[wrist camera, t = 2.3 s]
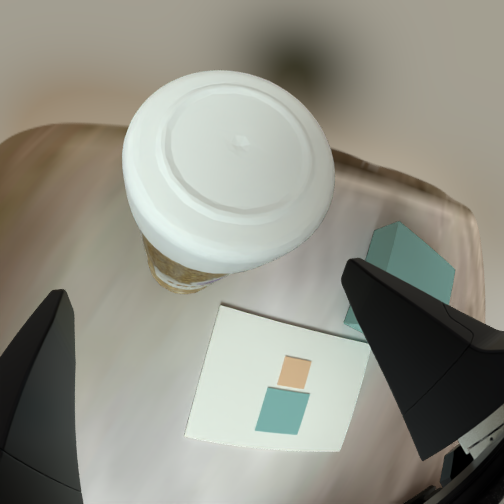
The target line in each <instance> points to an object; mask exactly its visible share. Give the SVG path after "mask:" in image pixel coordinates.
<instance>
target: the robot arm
mask: <svg viewBox="0 0 504 504" xmlns="http://www.w3.org/2000/svg"><path fill="white" fill-rule="evenodd" d="M341 282H342V286H343V288H344V290H345V293H346V295H347V298H348V300H349V303H350V305H351V308H352V310H353V313H354V315H355V317H356V320H357V322H358V324H359V326H360V328H361V330H362V332H363V334H364V336H365V338H366V340H367V342H368V344H369V346H370V348H371V350H372V352H373V354H374V356H375V358H376V360H377V362H378V364H379V366H380V368H381V370H382V372H383V374H384V376H385V378H386V381H387V383H388V385H389V387H390V389H391V391H392V393H393V396H394V398H395V400H396V402H397V404H398V407H399V409H400V411H401V413H402V415H403V418H404V420H405V423H406V425H407V427H408V430H409V432H410V434H411V437H412V439H413V441H414V444H415V446H416V449H417V451H418V454H419V456H420V458H421V460H422V461H424V460H426V459H428V458H429V457H431V456H433V455H434V454H436V453H438V452H439V451H441V450H442V449H444V448H446V447H447V446H449V445H450V444H452V443H453V442H455V441H456V440H458V442H459V444H458V445H457V446H456V447H455V448H454V449H452V450H451V451H450V452H449V453H448V454H446V455H445V457H444V463H443V468H442V473H441V478H440V483H441V485H442V487H443V489H441V490H440V491H439V492H438V493H437V494H435V495H434V496H433V497H431V498H430V499H429V500H428V501H426V502H425V503H424V504H504V331H499V330H496V329H494V328H492V327H490V326H488V325H486V324H484V323H482V322H480V321H478V320H476V319H474V318H472V317H470V316H468V315H466V314H464V313H462V312H460V311H458V310H456V309H455V308H453V307H451V306H449V305H447V304H446V303H444V302H441V301H440V300H438V299H436V298H435V297H433V296H431V295H429V294H427V293H426V292H424V291H422V290H420V289H418V288H416V287H414V286H413V285H411V284H409V283H407V282H405V281H403V280H401V279H400V278H398V277H396V276H394V275H392V274H390V273H388V272H386V271H384V270H382V269H380V268H379V267H377V266H375V265H373V264H371V263H369V262H367V261H365V260H363V259H361V258H352V259H349V260H348V261H347V263H346V266H345V269H344V271H343V274H342V277H341ZM75 365H76V361H75V330H74V311H73V308H72V305H71V302H70V300H69V297H68V294H67V292H66V291H65V290H64V289H58V290H52V291H51V292H50V293H49V294H48V296H47V297H46V298H45V299H44V300H43V302H42V303H41V304H40V305H39V306H38V308H37V309H36V310H35V311H34V313H33V314H32V315H31V316H30V318H29V319H28V320H27V321H26V323H25V324H24V325H23V327H22V328H21V329H20V330H19V332H18V333H17V334H16V336H15V337H14V338H13V340H12V341H11V343H10V344H9V345H8V347H7V348H6V350H5V351H4V352H3V354H2V355H1V357H0V504H83V498H82V493H81V486H80V478H79V470H78V460H77V449H76V433H75Z"/></svg>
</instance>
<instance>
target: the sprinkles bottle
mask: <svg viewBox="0 0 504 504" xmlns="http://www.w3.org/2000/svg"><path fill="white" fill-rule="evenodd" d="M122 168H123V176H124V182H125V188H126V193H127V198H128V202H129V205H130V209H131V212H132V214H133V217H134V219H135V221H136V223H137V225H138V227H139V228H140V234H141V239H142V242H143V246H144V249H145V252H146V255H147V258H148V264H149V268H150V271H151V273H152V275H153V277H154V278H155V279H156V281H157V282H158V283H159V284H160V285H161V286H163V287H165V288H166V289H168V290H169V291H171V292H174V293H181V294H189V293H195V292H198V291H200V290H202V289H204V288H205V287H207V286H208V285H210V284H212V283H214V282H215V281H217V280H219V279H221V278H223V277H225V276H227V275H229V274H231V273H238V272H243V271H247V270H250V269H254V268H256V267H259V266H261V265H264V264H266V263H269V262H271V261H273V260H275V259H277V258H279V257H281V256H283V255H285V254H287V253H289V252H290V251H292V250H294V249H295V248H297V247H298V246H300V245H301V244H302V243H303V242H305V241H306V240H307V239H308V238H309V237H310V236H311V235H312V234H313V233H314V232H315V230H316V229H317V228H318V227H319V225H320V224H321V222H322V221H323V219H324V217H325V215H326V213H327V211H328V209H329V207H330V204H331V201H332V197H333V192H334V185H335V168H334V161H333V156H332V152H331V148H330V145H329V143H328V140H327V138H326V136H325V134H324V132H323V130H322V128H321V126H320V124H319V123H318V121H317V120H316V119H315V117H314V116H313V115H312V114H311V113H310V111H309V110H308V109H307V108H306V107H305V106H304V105H303V104H302V103H301V102H300V101H299V100H297V98H295V97H294V96H293V95H291V94H290V93H289V92H287V91H286V90H284V89H283V88H281V87H279V86H278V85H276V84H274V83H272V82H270V81H268V80H265V79H263V78H260V77H257V76H254V75H251V74H247V73H242V72H236V71H225V70H212V71H203V72H197V73H193V74H189V75H185V76H183V77H180V78H178V79H176V80H173V81H171V82H169V83H168V84H166V85H164V86H163V87H161V88H159V89H158V90H157V91H156V92H154V93H153V94H152V95H151V96H150V97H149V98H148V99H147V100H146V101H145V102H144V103H143V104H142V105H141V107H140V108H139V109H138V111H137V112H136V114H135V115H134V117H133V119H132V121H131V122H130V125H129V128H128V131H127V133H126V136H125V139H124V145H123V151H122Z"/></svg>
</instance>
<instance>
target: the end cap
mask: <svg viewBox="0 0 504 504" xmlns="http://www.w3.org/2000/svg"><path fill="white" fill-rule="evenodd" d="M435 489H436V487H435V486H433V485H431V486H430V487H428V488H427V489H425V490H424V491H422V492H421V493H419V494H418V495H416V496H415V497H413V498H412V499H410V500H408V501H407V502H405V503H404V504H424V503H425V502H426V501H428V500H429V499H430V498H431V497H433V496H434V495H435V494H437V493H438V492H439V491H440V490H441V489H443V488H438V489H436V490H435Z"/></svg>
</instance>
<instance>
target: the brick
mask: <svg viewBox="0 0 504 504" xmlns="http://www.w3.org/2000/svg"><path fill="white" fill-rule="evenodd" d="M365 261H367V262H369V263H371V264H373V265H375V266H377V267H379V268H380V269H382V270H384V271H386V272H388V273H390V274H392V275H394V276H396V277H398V278H400V279H401V280H403V281H405V282H407V283H409V284H411V285H413V286H414V287H416V288H418V289H420V290H422V291H424V292H426V293H427V294H429V295H431V296H433V297H435V298H436V299H438V300H440V301H441V302H444V303H446V304H447V305H449V300H450V296H451V291H452V286H453V280H454V275H455V269H454V268H453V267H452V266H451V265H450V264H449V263H448V262H446V261H445V260H444V259H443V258H442V257H441V256H440V255H439V254H438V253H436V252H435V251H434V250H433V249H432V248H431V247H430V246H428V245H427V244H426V243H425V242H424V241H423V240H421V239H420V238H419V237H418V236H417V235H415V234H414V233H413V232H412V231H411V230H409V229H408V228H407V227H406V226H405V225H403V224H402V223H401V222H400V221H398V222H395V223H393V224H390V225H388V226H385V227H382V228H380V229H377V230H374V234H373V237H372V241H371V244H370V247H369V251H368V254H367V257H366V260H365ZM344 324H346V325H348V326H350V327H352V328H354V329H356V330H358V331H360V332H362V330H361V328H360V326H359V324H358V322H357V320H356V317H355V315H354V313H353V310H352V308H351V305H350V307H349V310H348V313H347V315H346V318H345V321H344ZM362 333H363V332H362Z"/></svg>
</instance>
